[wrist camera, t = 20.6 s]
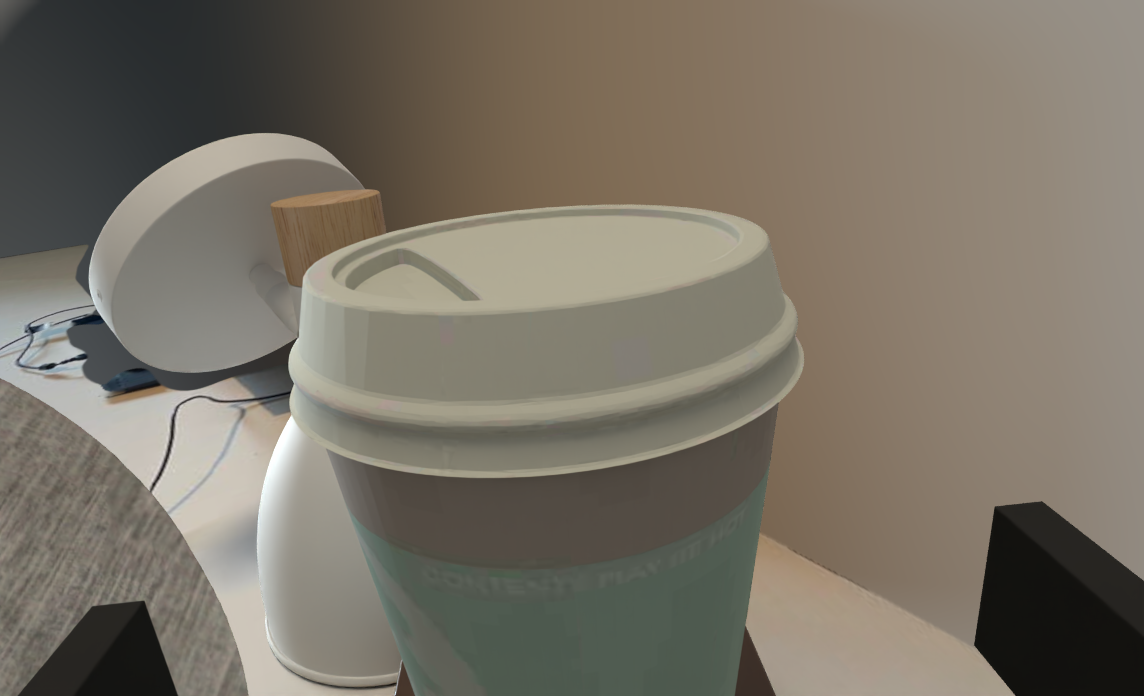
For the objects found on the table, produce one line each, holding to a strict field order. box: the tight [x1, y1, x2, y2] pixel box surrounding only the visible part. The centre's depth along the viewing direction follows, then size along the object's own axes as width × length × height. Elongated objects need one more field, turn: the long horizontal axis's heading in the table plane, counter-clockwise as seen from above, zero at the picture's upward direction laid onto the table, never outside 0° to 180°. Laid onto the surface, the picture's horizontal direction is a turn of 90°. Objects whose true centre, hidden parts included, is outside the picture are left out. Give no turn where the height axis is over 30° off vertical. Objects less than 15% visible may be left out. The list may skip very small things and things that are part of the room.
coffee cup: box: [289, 205, 804, 696], centre depth 17 cm, size 11×11×15 cm
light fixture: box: [89, 133, 402, 687], centre depth 32 cm, size 13×21×20 cm
